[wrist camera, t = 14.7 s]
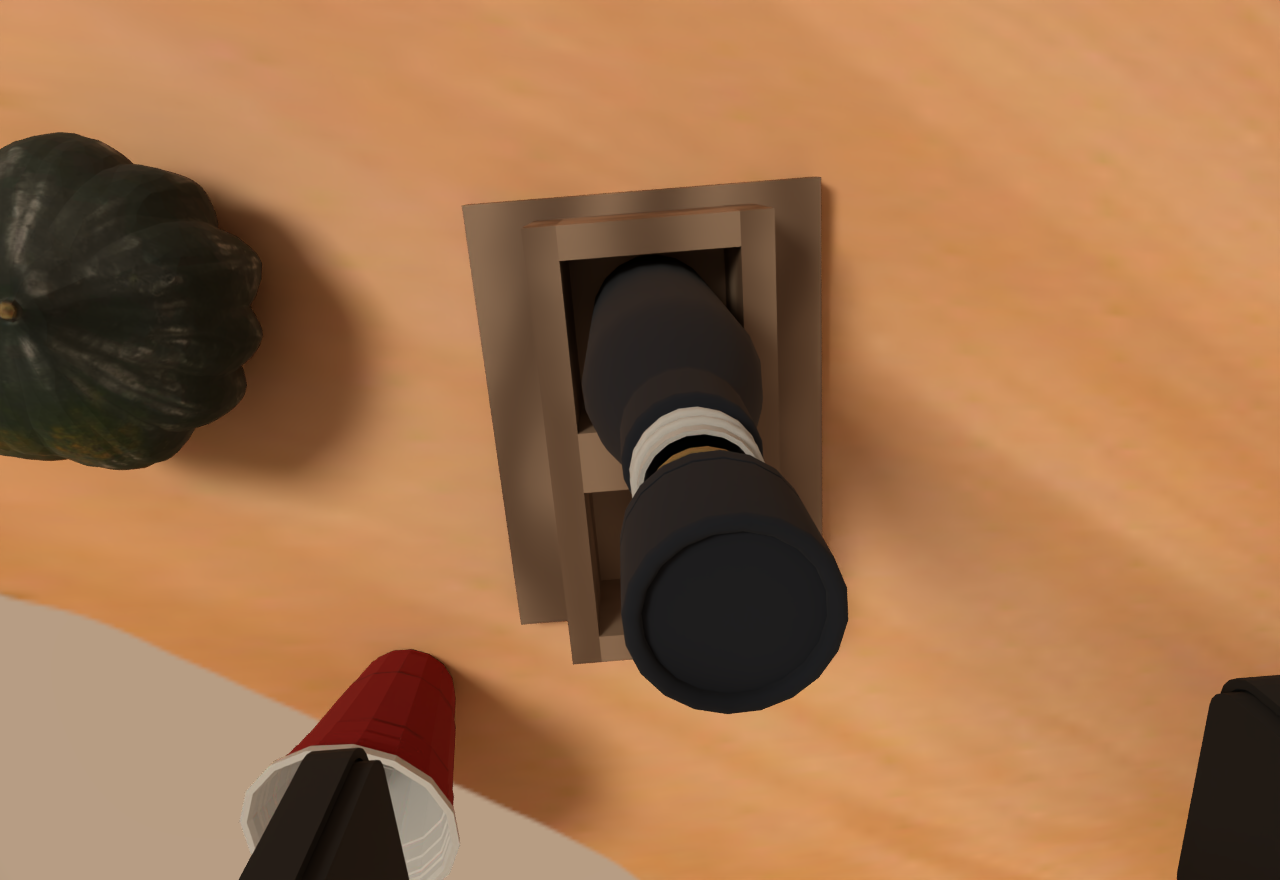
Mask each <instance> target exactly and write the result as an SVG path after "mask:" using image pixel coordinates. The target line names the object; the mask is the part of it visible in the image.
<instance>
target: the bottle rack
mask: <svg viewBox="0 0 1280 880" xmlns="http://www.w3.org/2000/svg"><path fill="white" fill-rule="evenodd" d="M462 210H463V217H464V224H465V231H466V238H467V245H468V253H469V260H470V267H471V274H472V281H473V288H474V295H475V302H476V309H477V316H478V323H479V330H480V337H481V344H482V351H483V359H484V366H485V373H486V380H487V387H488V394H489V401H490V408H491V415H492V422H493V429H494V436H495V443H496V450H497V457H498V465H499V472H500V479H501V486H502V493H503V500H504V507H505V514H506V521H507V528H508V535H509V542H510V549H511V556H512V564H513V571H514V578H515V585H516V592H517V599H518V606H519V613H520V620H521V625H523V624H535V623H547V622H559V621H568V626H569V635H570V643H571V651H572V660H573V664H583V663H595V662H607V661H619V660H631V659H632V657H631V655H630V653H629V651H628V649H627V647H626V645H625V639H624V632H623V625H622V618H621V580H620V534H621V529H622V524H623V519H624V515H625V510H626V508H627V506H628V505H629V503H630V501H631V500H632V495H631V493H630V491H629V489H628V487H627V485H626V483H625V481H624V478H623V471H622V465H621V464H620V463H619V462H618V461H617V460H616V459H615V458H614V457H613V456H612V455H611V454H610V453H609V452H608V450H607V449H606V448H605V446H604V445H603V444H602V442H601V440H600V438H599V436H598V434H597V432H596V430H595V428H594V426H593V424H592V422H591V420H590V418H589V416H588V414H587V412H586V410H585V404H584V397H583V390H582V376H583V370H584V364H585V358H586V351H587V345H588V339H589V333H590V326H591V320H592V314H593V308H594V303H595V297H596V295H597V293H598V291H599V289H600V287H601V285H602V284H603V282H604V280H605V278H606V277H607V276H609V275H610V274H611V273H612V272H613V271H614V270H615V269H616V268H617V267H618V266H619V265H621V264H623V263H625V262H627V261H629V260H632V259H634V258H636V257H640V256H649V255H661V256H666V257H671V258H676V259H678V260H679V261H681V262H683V263H685V264H686V265H688V266H690V267H692V268H693V269H694V270H695V271H696V272H697V274H698V275H699V276H700V277H701V278H702V279H703V280H704V281H705V283H706V284H707V285H708V286H709V287H710V289H711V290H712V291H713V292H714V293H715V295H716V296H717V297H718V298H719V299H720V301H721V302H722V303H723V304H724V305H725V307H726V308H727V309H728V310H729V311H730V312H731V314H732V315H733V316H734V317H735V318H736V320H737V321H738V322H739V323H740V324H741V326H742V327H743V328H744V329H745V330H746V332H747V333H748V334H749V335H750V337H751V340H752V342H753V345H754V347H755V349H756V352H757V354H758V356H759V359H760V362H761V376H762V390H763V403H762V410H761V414H760V418H759V422H758V426H757V430H758V432H759V434H760V437H761V439H762V443H763V457H764V462H765V463H766V464H768V465H770V466H772V467H774V468H775V469H777V470H778V471H779V473H780V474H781V475H782V476H783V477H784V478H785V479H786V480H787V481H788V482H789V483H790V484H791V485H792V487H793V488H794V489H795V490H796V492H797V494H798V495H799V497H800V499H801V501H802V502H803V504H804V506H805V508H806V509H807V511H808V513H809V515H810V516H811V518H812V520H813V522H814V523H815V525H816V527H817V529H818V530H819V532H820V534H821V535H822V334H821V177H805V178H792V179H780V180H767V181H755V182H742V183H730V184H717V185H705V186H692V187H680V188H667V189H655V190H642V191H630V192H618V193H605V194H593V195H580V196H568V197H555V198H543V199H530V200H518V201H505V202H493V203H480V204H468V205H463V206H462Z"/></svg>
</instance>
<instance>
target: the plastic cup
mask: <svg viewBox="0 0 1280 880" xmlns="http://www.w3.org/2000/svg"><path fill="white" fill-rule="evenodd" d="M455 700H456V699H455V692H454V686H453V681H452V677H451V675H450V674H449V672H448V671H447V669H446V668H445V666H444V665H443V664H442V663H441V662H439V661H438V660H436V659H435V658H434V657H432V656H431V655H429V654H426V653H423V652H419V651H415V650H412V649H410V650H395V651H392V652H389V653H387V654H385V655H383V656H381V657H378V658H377V659H376V660H375V661H373V662H372V663H371V664H370V665H369V666H368V667H367V669H366V670H365V671H364V672H363V673H362V674H361V675H360V677H359V678H358V679H357V680H356V681H355V682H354V683H353V684H352V685H351V686H350V687H349V688H348V689H347V690H346V691H345V692H344V694H343V695H342V696H341V697H340V698H339V699H338V700H337V702H336V703H335V704H334V705H333V706H332V707H331V709H330V710H329V711H328V712H327V713H326V715H325V716H324V717H323V718H322V719H321V720H320V722H319V723H318V724H317V725H316V726H315V728H314V729H313V730H312V731H311V732H310V733H309V734H308V735H307V736H306V737H305V738H304V739H303V740H302V741H301V742H300V743H299V745H297V746H296V747H295V748H294V749H293V750H292V751H291V752H290V753H289V754H287V755H286V756H285V757H282V758H280V759H277V760H275V761H274V762H273V763H272V764H271V765H270V766H269V767H268V768H267V769H266V770H265V771H264V772H263V773H262V774H261V775H260V776H259V777H258V778H257V780H256V781H255V782H254V783H253V784H252V785H251V786H250V787H249V788H248V789H247V790H246V794H245V798H244V803H243V808H242V813H241V817H240V823H241V827H242V830H243V833H244V836H245V839H246V842H247V844H248V848H249V850H250V853H251V854H253V852H254V850H255V848H256V846H257V844H258V842H259V841H260V839H261V837H262V835H263V833H264V831H265V829H266V827H267V825H268V824H269V822H270V820H271V818H272V816H273V814H274V812H275V810H276V809H277V807H278V805H279V803H280V801H281V799H282V797H283V795H284V793H285V792H286V790H287V788H288V786H289V784H290V782H291V780H292V778H293V777H294V775H295V773H296V771H297V769H298V767H299V765H300V763H301V761H302V760H303V759H304V757H305V756H306V754H308V753H309V752H311V751H321V750H334V749H346V748H363V749H364V751H365V752H366V754H367V756H368V759H369V760H380V761H381V762H382V764H383V767H384V770H385V774H386V778H387V783H388V787H389V792H390V796H391V800H392V805H393V809H394V814H395V818H396V823H397V827H398V832H399V836H400V840H401V845H402V849H403V854H404V858H405V863H406V867H407V871H408V876H409V880H443V879H444V878H445V877H447V876H448V875H449V874H450V872H451V868H452V866H453V863H454V860H455V857H456V855H457V852H458V849H459V846H460V839H459V833H458V828H457V823H456V817H455V812H454V807H453V800H454V796H453V769H454V749H455V729H456V727H455V721H454V717H455Z"/></svg>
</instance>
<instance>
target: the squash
mask: <svg viewBox="0 0 1280 880" xmlns="http://www.w3.org/2000/svg"><path fill="white" fill-rule="evenodd" d="M261 275H262V263H261V261H260V259H259V257H258V255H257V253H256V252H255V251H254V250H253V249H252V248H250V247H249V246H248V245H247V244H245V243H244V242H243V241H242V240H240V239H239V238H238V237H236V236H234V235H232V234H230V233H228V232H226V231H224V230H221V229H218V221H217V217H216V213H215V210H214V208H213V206H212V203H211V201H210V199H209V197H208V195H207V194H206V192H205V191H204V189H203V188H202V187H201V186H200V185H198V184H197V183H196V182H194V181H193V180H191V179H189V178H187V177H184V176H181V175H179V174H176V173H172V172H169V171H165V170H161V169H158V168H153V167H148V166H143V165H137V164H133V163H132V162H131V161H130V160H129V159H128V158H126V157H125V156H124V155H123V154H121V153H120V152H118V151H117V150H115V149H113V148H112V147H110V146H108V145H106V144H104V143H103V142H101V141H99V140H95V139H91V138H87V137H83V136H81V135H78V134H75V133H63V132H57V133H50V134H44V135H38V136H32V137H29V138H26V139H23V140H19V141H15V142H13V143H11V144H9V145H7V146H5V147H3V148H1V149H0V455H3V456H12V457H18V458H23V459H31V460H43V461H56V460H66V459H69V460H72V461H75V462H77V463H80V464H83V465H86V466H92V467H102V468H107V469H113V470H131V469H140V468H146V467H148V466H150V465H152V464H154V463H157V462H161V461H165V460H167V459H169V458H171V457H172V456H173V455H175V454H176V453H177V452H178V451H179V450H180V449H181V448H182V446H183V445H184V444H185V443H186V442H187V441H188V439H189V438H190V436H191V435H192V433H193V431H194V430H195V428H197V427H200V426H203V425H206V424H209V423H211V422H213V421H215V420H217V419H218V418H220V417H221V416H223V415H225V414H226V413H228V412H229V411H230V410H232V409H233V408H234V407H235V406H236V405H237V404H238V403H239V402H240V401H241V399H242V398H243V396H244V394H245V390H246V386H247V384H246V379H245V374H244V370H243V368H242V367H241V366H242V365H243V364H244V363H245V362H246V361H247V360H249V359H250V358H251V357H252V356H253V354H254V353H255V352H256V350H257V349H258V347H259V345H260V342H261V340H262V337H263V333H262V328H261V325H260V323H259V321H258V319H257V317H256V315H255V314H254V312H253V311H252V309H251V307H250V305H251V303H252V301H253V299H254V298H255V296H256V294H257V290H258V287H259V284H260V281H261Z"/></svg>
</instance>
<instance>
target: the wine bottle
mask: <svg viewBox="0 0 1280 880" xmlns="http://www.w3.org/2000/svg"><path fill="white" fill-rule="evenodd" d="M582 390H583V397H584V404H585V410H586V412H587V414H588V416H589V418H590V420H591V422H592V424H593V426H594V428H595V430H596V432H597V434H598V436H599V438H600V440H601V442H602V444H603V445H604V446H605V448H606V449H607V450H608V452H609V453H610V454H611V455H612V456H613V457H614V458H615V459H616V460H617V461H618V462H619V463H620V464H621V465H622V471H623V478H624V481H625V483H626V485H627V487H628V489H629V491H630V493H631V495H632V500H631V501H630V503H629V505H628V506H627V508H626V510H625V515H624V519H623V524H622V529H621V534H620V580H621V618H622V625H623V632H624V639H625V645H626V647H627V649H628V651H629V653H630V655H631V657H632V659H633V660H634V662H635V664H636V666H637V668H638V670H639V671H640V673H641V674H642V675H643V676H644V677H645V678H646V679H647V680H648V681H649V682H650V683H652V684H653V685H654V686H655V687H656V688H657V689H658V690H659V691H660V692H661V693H663V694H664V695H665V696H667V697H669V698H671V699H674V700H676V701H678V702H680V703H682V704H685V705H687V706H689V707H691V708H693V709H697V710H704V711H711V712H717V713H724V714H732V713H741V712H749V711H758V710H763V709H765V708H768V707H770V706H773V705H775V704H778V703H780V702H783V701H785V700H788V699H790V698H793V697H794V696H795V695H797V694H798V693H799V692H800V691H802V690H803V689H804V688H806V687H807V686H808V685H810V684H811V683H812V682H814V681H815V680H816V679H818V678H819V677H820V675H821V674H822V673H823V671H824V670H825V668H826V667H827V666H828V664H829V663H830V662H831V660H832V659H833V657H834V656H835V655H836V653H837V652H838V650H839V647H840V644H841V641H842V638H843V635H844V631H845V628H846V625H847V622H848V602H847V587H846V584H845V582H844V580H843V577H842V575H841V573H840V570H839V568H838V565H837V563H836V561H835V558H834V556H833V555H832V553H831V551H830V549H829V548H828V546H827V544H826V542H825V541H824V539H823V537H822V535H821V534H820V532H819V530H818V529H817V527H816V525H815V523H814V522H813V520H812V518H811V516H810V515H809V513H808V511H807V509H806V508H805V506H804V504H803V502H802V501H801V499H800V497H799V495H798V494H797V492H796V490H795V489H794V488H793V487H792V485H791V484H790V483H789V482H788V481H787V480H786V479H785V478H784V477H783V476H782V475H781V474H780V473H779V471H778V470H777V469H775V468H774V467H772V466H770V465H768V464H766V463H765V462H764V457H763V443H762V439H761V437H760V434H759V432H758V430H757V426H758V422H759V418H760V414H761V410H762V403H763V390H762V376H761V362H760V359H759V356H758V354H757V352H756V349H755V347H754V345H753V342H752V340H751V337H750V335H749V334H748V333H747V332H746V330H745V329H744V328H743V327H742V326H741V324H740V323H739V322H738V321H737V320H736V318H735V317H734V316H733V315H732V314H731V312H730V311H729V310H728V309H727V308H726V307H725V305H724V304H723V303H722V302H721V301H720V299H719V298H718V297H717V296H716V295H715V293H714V292H713V291H712V290H711V289H710V287H709V286H708V285H707V284H706V283H705V281H704V280H703V279H702V278H701V277H700V276H699V275H698V274H697V272H696V271H695V270H694V269H693V268H692V267H690V266H688V265H686V264H685V263H683V262H681V261H679V260H678V259H676V258H671V257H666V256H661V255H649V256H640V257H636V258H634V259H632V260H629V261H627V262H625V263H623V264H621V265H619V266H618V267H617V268H616V269H615V270H614V271H613V272H612V273H611V274H610V275H609V276H607V277H606V278H605V280H604V282H603V284H602V285H601V287H600V289H599V291H598V293H597V295H596V297H595V303H594V308H593V314H592V320H591V326H590V333H589V339H588V345H587V351H586V358H585V364H584V370H583V376H582Z"/></svg>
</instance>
